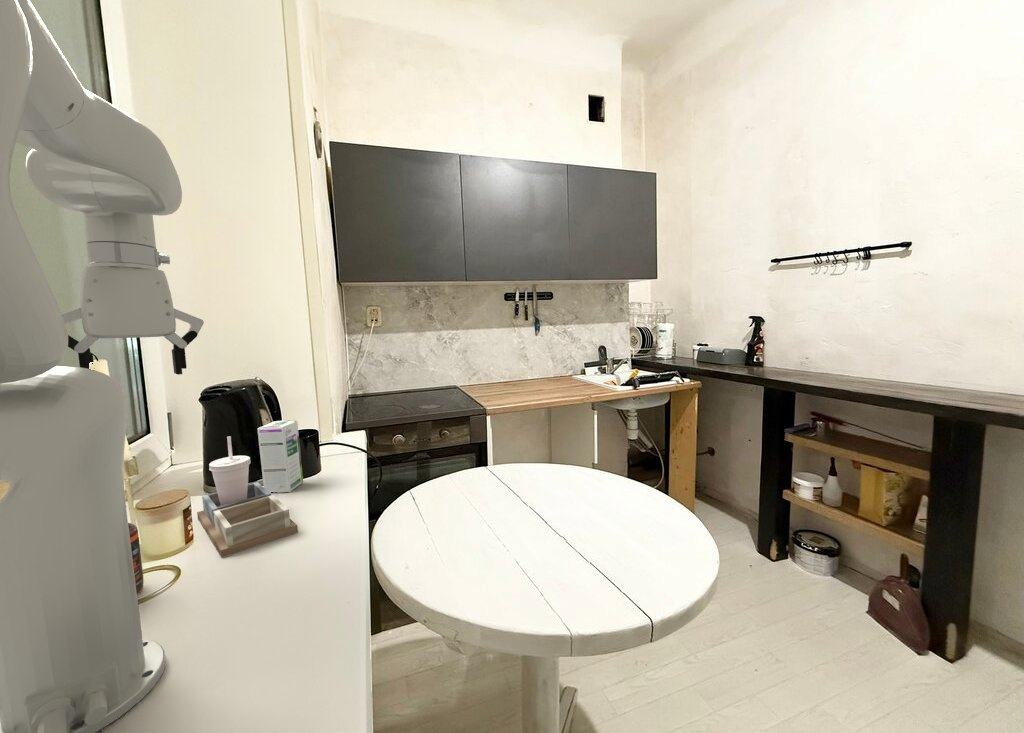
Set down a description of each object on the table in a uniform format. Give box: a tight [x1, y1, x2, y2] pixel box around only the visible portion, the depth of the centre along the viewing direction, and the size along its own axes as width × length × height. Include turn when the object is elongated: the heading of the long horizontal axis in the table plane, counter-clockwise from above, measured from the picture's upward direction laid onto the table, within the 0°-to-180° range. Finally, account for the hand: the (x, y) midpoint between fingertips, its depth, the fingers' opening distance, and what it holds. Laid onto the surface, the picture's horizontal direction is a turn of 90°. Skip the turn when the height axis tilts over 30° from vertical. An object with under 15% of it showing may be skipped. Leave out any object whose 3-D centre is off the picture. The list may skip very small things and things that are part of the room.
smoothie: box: [208, 435, 252, 506], centre depth 78 cm, size 6×6×14 cm
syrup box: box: [257, 419, 304, 493], centre depth 93 cm, size 6×6×14 cm
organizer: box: [196, 481, 299, 559], centre depth 76 cm, size 20×11×4 cm, turn 45°
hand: (137, 377), depth 63 cm, fingers open, 9 cm apart
